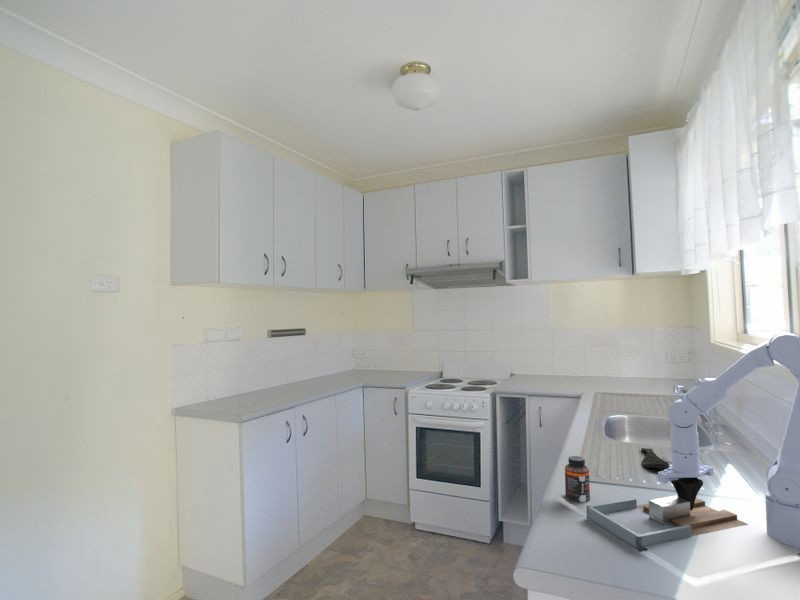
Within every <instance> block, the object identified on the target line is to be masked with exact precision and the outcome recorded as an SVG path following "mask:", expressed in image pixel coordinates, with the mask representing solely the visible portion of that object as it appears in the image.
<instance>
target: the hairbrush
mask: <svg viewBox="0 0 800 600" xmlns="http://www.w3.org/2000/svg"><path fill="white" fill-rule="evenodd" d="M640 450H641V451H643V452H645V453H646V454H645V456H644V457H643V459H642V461H641V466H642V467H643V468H650V469H651V468H652V469H653V468H655V469H664V470H666V469H668V468H669V465H671V461H668V460H667V459H665V458H662V457H660V456H659V455H657V453H656V452H654V450H653V448H646V447H645V448H644V447H643V448H642V447H641V449H640Z"/></svg>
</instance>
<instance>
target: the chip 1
mask: <svg viewBox="0 0 800 600" xmlns="http://www.w3.org/2000/svg"><path fill="white" fill-rule="evenodd" d="M648 504H649V513H648V517H649V518H650V519H652V520H654V521H655V522H658V523H659V524H661V525H668V524H669V525H671V524H670V523H671V520H674V519H677V504H675V503H673V502H670V501H668V500H666V499H664V498H663V497H659V498H654V499H653V498H652V499H648Z"/></svg>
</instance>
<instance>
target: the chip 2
mask: <svg viewBox="0 0 800 600" xmlns="http://www.w3.org/2000/svg"><path fill="white" fill-rule="evenodd" d="M662 498H664V499H666V500H668V501H670V502H673V503H675V504H677V519H679V518H684V517H689V516H690V502H689V501H687V500H685V499H682V498H680V497H678V495H676V494H675V495H670V496H664V497H662Z"/></svg>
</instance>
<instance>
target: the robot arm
mask: <svg viewBox="0 0 800 600" xmlns="http://www.w3.org/2000/svg"><path fill="white" fill-rule="evenodd" d="M774 361H775V362H777V363H778V364H780V365H782V367H785V368H786V369H788V370H789V372H790V373H791V374H792V375H793V376H794V378H795V379H797V380H798V382H797V385H796V390H795V393H794V397H793V400H792V404H791V408H790V411H789V414H788V415H789V416H788V419H787V421H786V426H785V429H784V433H783V437H782V441H781V445H780V449H779V451H778V453H777V455H776V459H775V461H774V462H773V463H772V464H771V465H769V467H768V468H767V471H766V475H767V489H768V490H767V491H765V496H764V499H765V517H766V534H767V536H768V537H770V538H771V539H773V540H775V541H777V542H780V543H784V544H785V545H788V546H789V545H790V546H792V547H794V548H796V549H799V550H800V336H799V335H797V334H796V333H792V332H780V333H776V334H775V335H774V336H772V337H771V338H770V340H769V341H768V340H765V341H763V342H762V343H759V344H757V346H755V347H754V348H752V349H750V350H749V351H748V352H747V353H745V354H744V355H743V356H741V357H740V358H739V359H738V360H737V361H736V362H734V363H733V364H731V366H729V367H728V368H727V369H726V370H724V371H723V372H722V373H721V374H719V375H718V376H717V377H715V378H712V377H711V378H710V377H705V378H704V379H703V380H702V379H701V378H699V379H698V380H696V381H695V382H694V383H695V385H694V386H693V387H692V388H691V389H690V390H688V391H687V392H686V393H681V394H680V395H679V396H678V397H679V398H678V399H676V400H674V401H673V403H671V405H670V406H669V408H668V411H667V415H668V419H669V420H670V424H669V425H670V430H669V431H670V435H669V436H670V437H669V438H670V457H671V458H670V459H671V460H670V462H671V465H669V468H668V469H664V470H661V471H658V472H657V481H659V482H662V483H664V484H668V483H669V482H670V483H671V484H672V486H673V488H674V489H675V491H676V494H677V496H678V497H680V498H682V499H685V500H687V501H689V502H690V511H691V510H693V506H694V503H695V499H696V498H697V497H698V494H699V491H700V490H701V488H702V487H703V486H704V481H703V479H700V478H699V477H702V476H703V477H704V476H709V477H710V476H713V475H714V469H713V466H709V465H707V464H703V465H702V464H700V463H701V462H700V444H699V443H700V442H699V439H700V438H699V432H698V422H697V421H698V419H699V417H700V415H702V416H703V415H706V414H707V413H708V412H710V411H711V410H712V409H714V408H715V407H716V406H718V405H719V404H720V403H722V402H723V401H724V400H726V399H727V398H728V390H729V388H731V387H733V386H734V385H735V384H737V383H738V382H739V381H742V379H744V378H745V377H747V376H749V374H751V373H752V372H754V371H755V370H757V369H759V368H765V367H773V366H775V362H774ZM796 554H797V555H799V556H800V552H797V553H796Z"/></svg>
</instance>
